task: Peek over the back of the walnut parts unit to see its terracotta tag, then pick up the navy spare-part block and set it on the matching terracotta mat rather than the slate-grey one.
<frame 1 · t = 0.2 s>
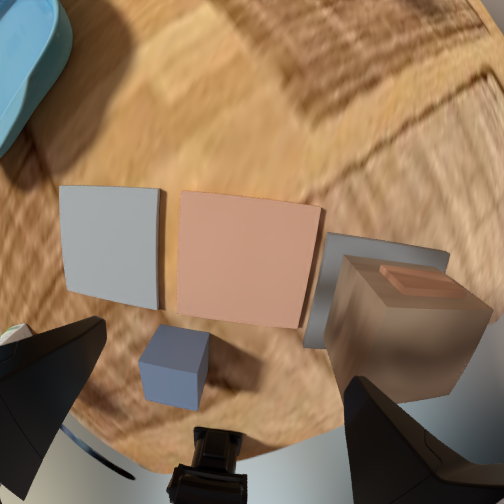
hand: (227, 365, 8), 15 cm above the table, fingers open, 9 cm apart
syrup box: (28, 340, 28), on the table
casserole dish: (12, 55, 16), on the table
terracotta mat: (243, 262, 23), on the table
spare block: (184, 348, 26), on the table
grey mat: (106, 244, 23), on the table
parts unit: (379, 298, 23), on the table
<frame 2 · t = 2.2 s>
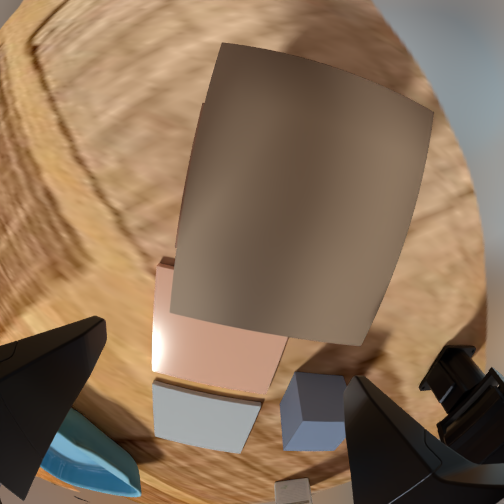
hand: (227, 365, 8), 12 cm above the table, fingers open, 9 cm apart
syrup box: (293, 483, 33), on the table
casserole dish: (67, 434, 31), on the table
terracotta mat: (217, 337, 22), on the table
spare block: (310, 390, 24), on the table
grey mat: (201, 421, 26), on the table
parts unit: (280, 184, 18), on the table
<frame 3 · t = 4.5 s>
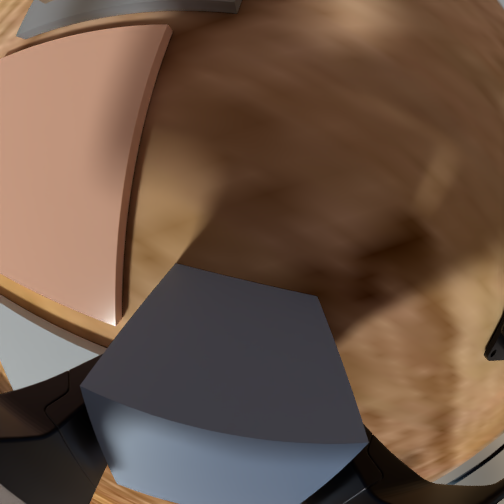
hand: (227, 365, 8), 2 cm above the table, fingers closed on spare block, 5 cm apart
terracotta mat: (30, 164, 8), on the table
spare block: (232, 339, 10), on the table, touching gripper
grey mat: (54, 385, 12), on the table
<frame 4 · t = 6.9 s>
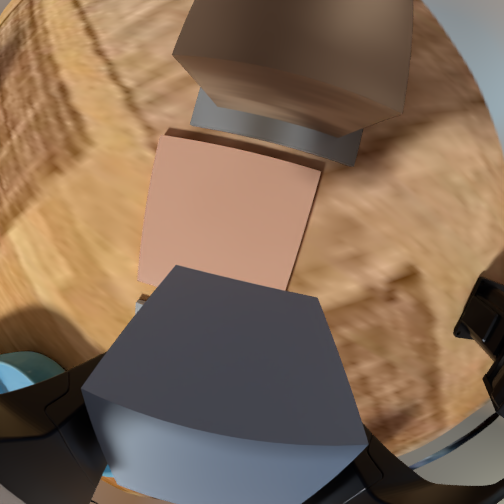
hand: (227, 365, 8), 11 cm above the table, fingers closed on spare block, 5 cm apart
casserole dish: (43, 396, 29), on the table
terracotta mat: (220, 227, 19), on the table
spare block: (232, 340, 10), point 10 cm above the table, touching gripper
parts unit: (294, 59, 15), on the table
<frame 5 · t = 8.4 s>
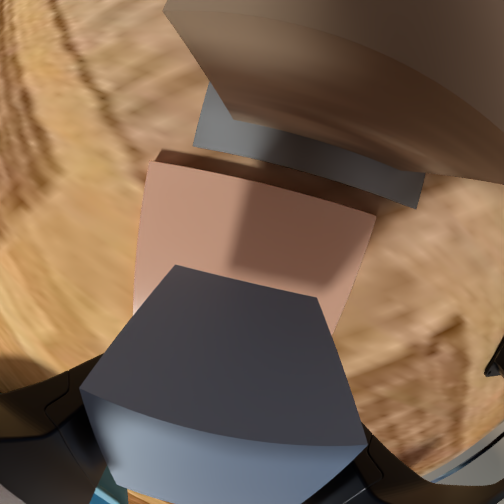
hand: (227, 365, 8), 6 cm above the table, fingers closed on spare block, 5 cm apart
casserole dish: (41, 433, 24), on the table
terracotta mat: (238, 289, 14), on the table
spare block: (231, 340, 10), point 4 cm above the table, touching gripper
parts unit: (339, 55, 10), on the table
when the fingers open (3 cm above the table, at t = 9.5 s): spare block stays where it is, resting on terracotta mat.
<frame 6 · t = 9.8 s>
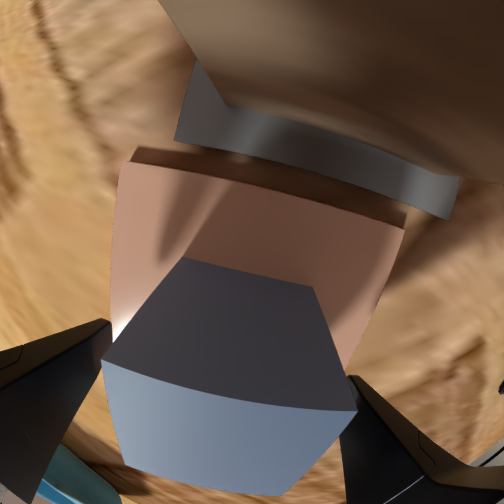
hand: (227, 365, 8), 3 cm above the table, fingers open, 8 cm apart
casserole dish: (34, 444, 21), on the table
terracotta mat: (234, 318, 11), on the table
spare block: (234, 327, 11), point 1 cm above the table, touching terracotta mat
parts unit: (357, 32, 7), on the table
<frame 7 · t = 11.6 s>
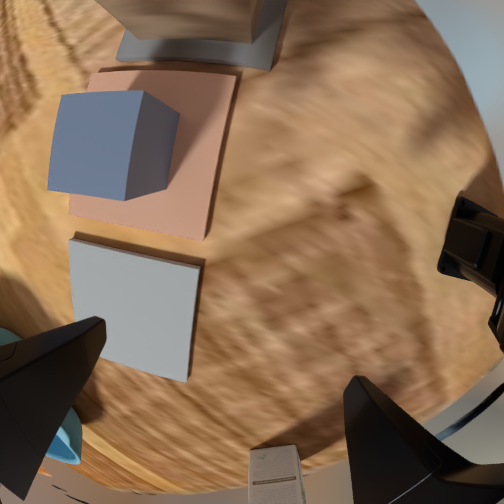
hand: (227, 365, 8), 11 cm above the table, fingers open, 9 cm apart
syrup box: (276, 455, 26), on the table
casserole dish: (11, 376, 26), on the table
terracotta mat: (141, 147, 16), on the table
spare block: (138, 147, 16), point 1 cm above the table, touching terracotta mat
grey mat: (128, 314, 20), on the table
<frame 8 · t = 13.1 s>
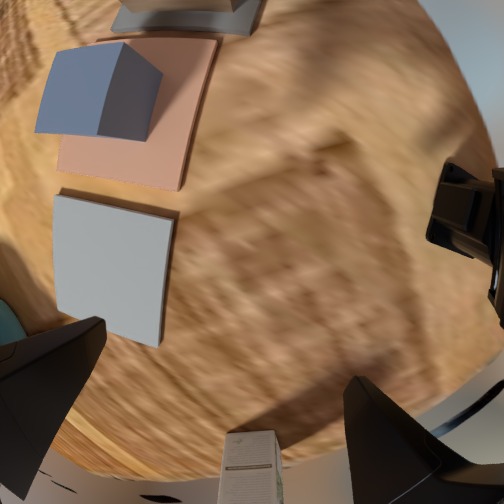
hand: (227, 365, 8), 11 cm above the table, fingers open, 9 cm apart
syrup box: (255, 441, 26), on the table
terracotta mat: (126, 105, 16), on the table
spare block: (123, 105, 15), point 1 cm above the table, touching terracotta mat
grey mat: (104, 271, 20), on the table
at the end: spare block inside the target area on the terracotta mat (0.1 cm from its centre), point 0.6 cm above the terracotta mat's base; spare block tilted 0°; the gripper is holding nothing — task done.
